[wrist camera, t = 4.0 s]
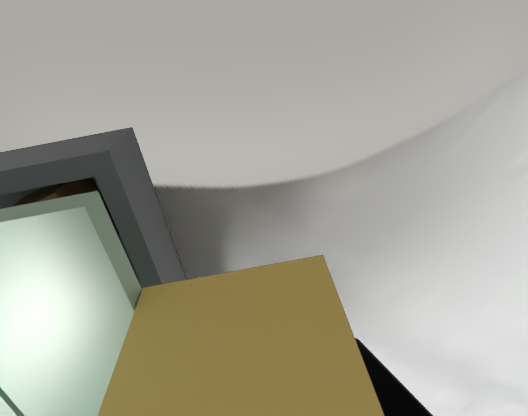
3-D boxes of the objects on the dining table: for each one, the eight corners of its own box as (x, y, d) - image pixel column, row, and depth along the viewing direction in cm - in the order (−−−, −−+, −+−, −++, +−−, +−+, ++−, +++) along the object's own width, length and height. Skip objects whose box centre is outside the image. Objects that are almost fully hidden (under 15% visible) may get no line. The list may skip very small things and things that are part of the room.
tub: (195, 306, 19) (189, 352, 16) (-55, 353, 19) (-102, 406, 16) (132, 127, 14) (108, 150, 11) (-201, 190, 14) (-301, 228, 12)
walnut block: (124, 223, 16) (108, 254, 13) (70, 249, 16) (45, 283, 14) (81, 168, 14) (55, 192, 12) (22, 197, 15) (-13, 226, 12)
